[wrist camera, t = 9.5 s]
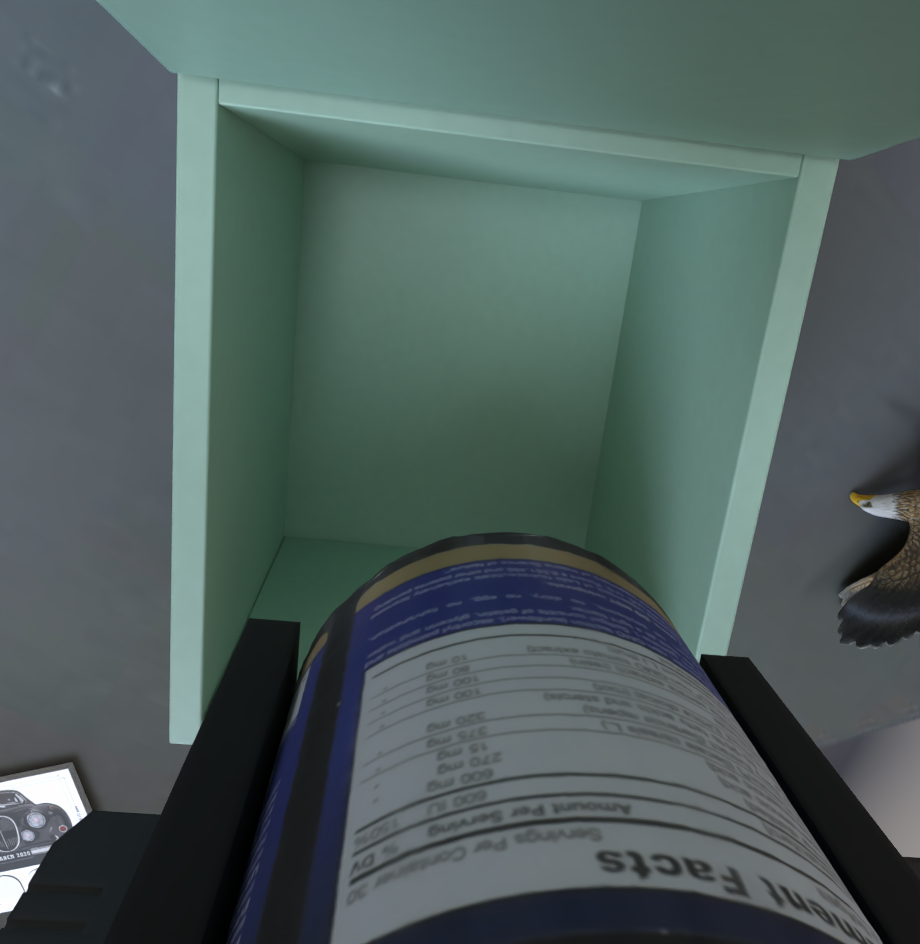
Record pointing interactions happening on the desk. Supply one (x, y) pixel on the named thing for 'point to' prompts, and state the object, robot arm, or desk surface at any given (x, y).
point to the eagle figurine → (886, 582)
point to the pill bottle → (523, 773)
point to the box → (466, 353)
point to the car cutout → (34, 822)
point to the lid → (578, 61)
